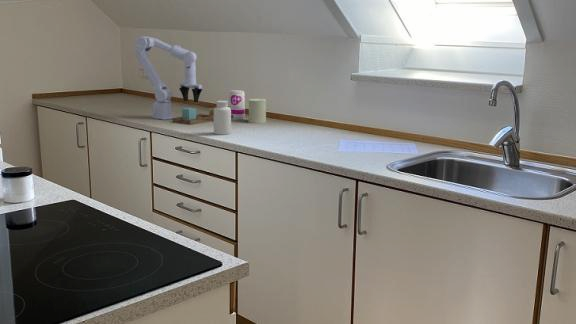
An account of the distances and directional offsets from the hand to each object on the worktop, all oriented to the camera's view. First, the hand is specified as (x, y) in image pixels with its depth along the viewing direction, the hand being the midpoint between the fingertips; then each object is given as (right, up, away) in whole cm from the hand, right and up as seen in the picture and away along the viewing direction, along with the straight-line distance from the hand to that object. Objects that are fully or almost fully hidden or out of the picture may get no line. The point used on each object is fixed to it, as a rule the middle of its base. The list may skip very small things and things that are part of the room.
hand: (190, 101), depth 319 cm
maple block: (+10, -6, +7) cm, 14 cm away
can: (+35, -11, -3) cm, 37 cm away
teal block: (0, -11, -6) cm, 13 cm away
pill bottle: (+21, -19, -37) cm, 46 cm away
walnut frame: (+3, -10, -3) cm, 11 cm away
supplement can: (+24, -9, +5) cm, 26 cm away
